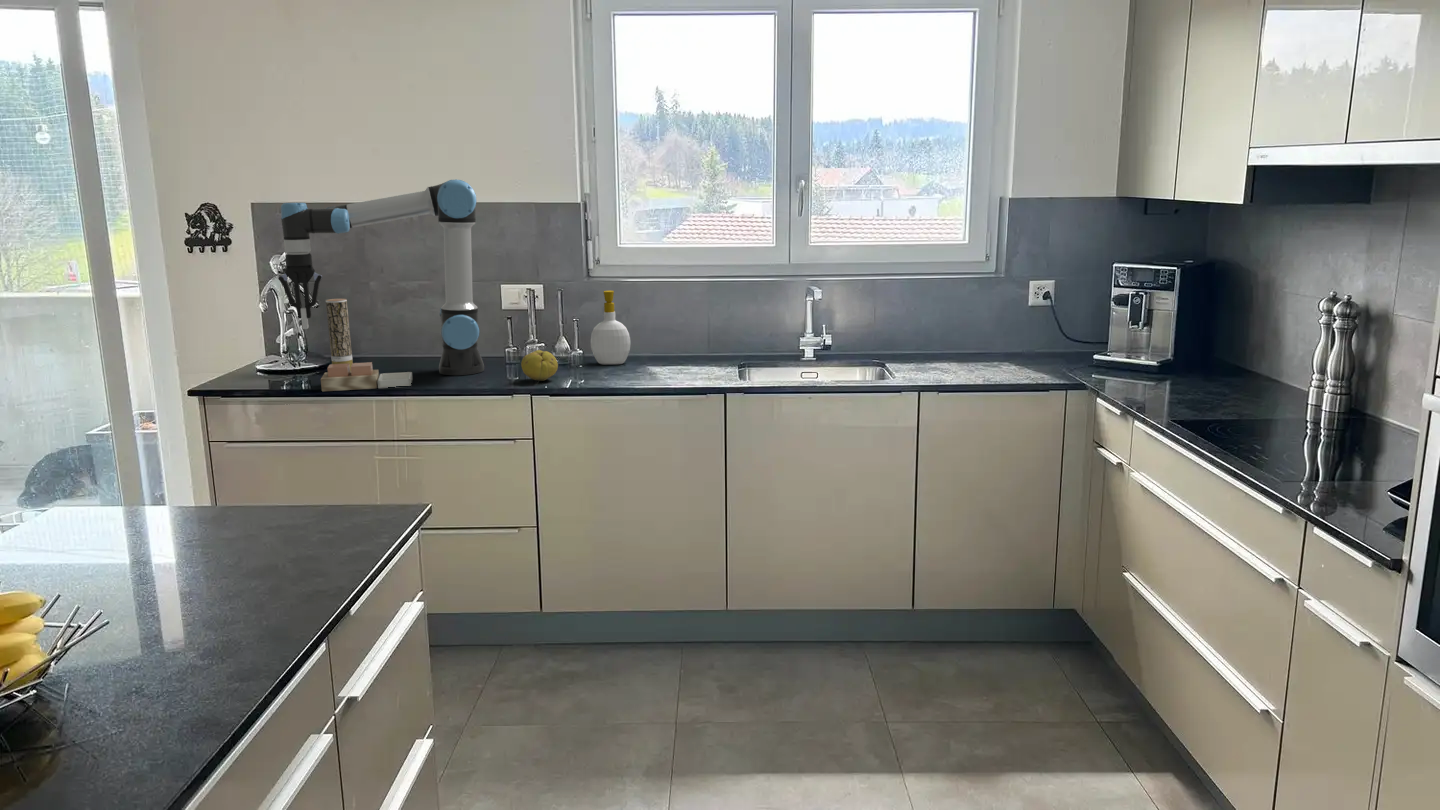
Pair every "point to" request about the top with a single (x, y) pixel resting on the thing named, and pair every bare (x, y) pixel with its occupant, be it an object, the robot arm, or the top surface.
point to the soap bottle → (610, 336)
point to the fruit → (539, 365)
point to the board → (349, 382)
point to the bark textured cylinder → (339, 331)
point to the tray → (394, 379)
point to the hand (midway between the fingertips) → (305, 328)
